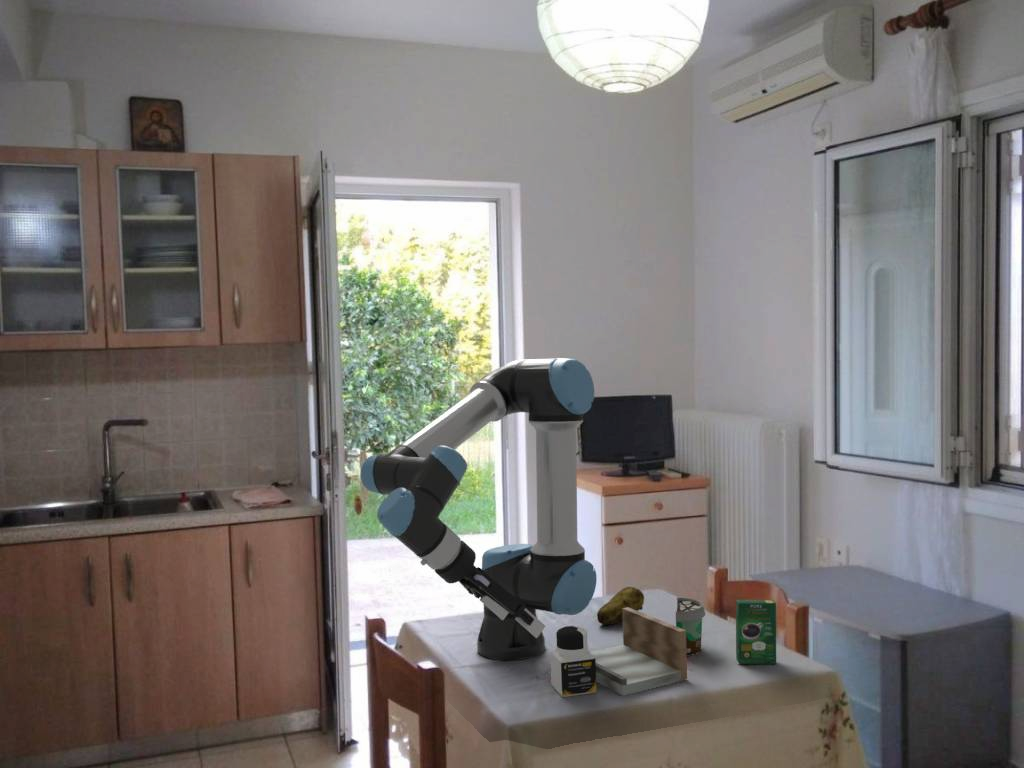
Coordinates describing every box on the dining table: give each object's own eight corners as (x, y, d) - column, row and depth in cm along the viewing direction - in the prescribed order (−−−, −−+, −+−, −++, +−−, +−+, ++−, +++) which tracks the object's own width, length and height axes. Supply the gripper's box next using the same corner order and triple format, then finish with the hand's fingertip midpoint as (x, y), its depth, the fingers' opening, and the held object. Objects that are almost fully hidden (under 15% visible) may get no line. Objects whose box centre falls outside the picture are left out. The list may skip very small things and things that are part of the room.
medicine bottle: (562, 697, 180) (560, 636, 179) (550, 685, 187) (548, 625, 186) (597, 692, 182) (595, 631, 181) (584, 680, 189) (582, 621, 188)
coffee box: (775, 660, 196) (773, 598, 196) (778, 664, 193) (776, 601, 193) (736, 660, 197) (734, 598, 196) (738, 665, 194) (736, 602, 193)
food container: (706, 659, 198) (705, 612, 198) (676, 658, 199) (675, 612, 199) (706, 641, 210) (705, 597, 210) (678, 640, 212) (677, 596, 211)
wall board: (568, 666, 197) (566, 619, 197) (629, 652, 204) (627, 607, 204) (622, 695, 180) (621, 644, 179) (687, 679, 187) (685, 630, 186)
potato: (589, 620, 230) (588, 588, 229) (638, 614, 233) (637, 582, 233) (601, 629, 222) (600, 596, 221) (651, 623, 225) (650, 590, 224)
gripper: (409, 559, 181) (482, 622, 188) (463, 585, 159) (543, 657, 166) (433, 528, 183) (504, 592, 191) (490, 550, 161) (568, 622, 169)
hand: (522, 622), depth 179 cm, fingers open, 13 cm apart
